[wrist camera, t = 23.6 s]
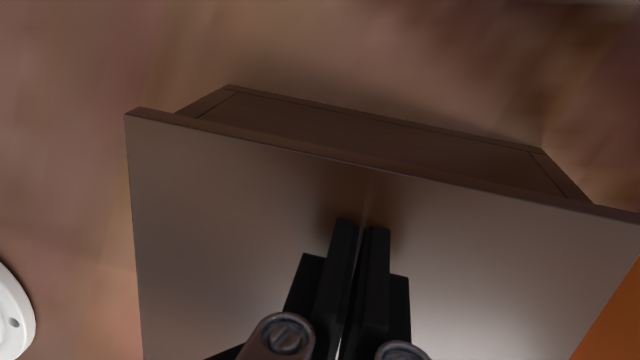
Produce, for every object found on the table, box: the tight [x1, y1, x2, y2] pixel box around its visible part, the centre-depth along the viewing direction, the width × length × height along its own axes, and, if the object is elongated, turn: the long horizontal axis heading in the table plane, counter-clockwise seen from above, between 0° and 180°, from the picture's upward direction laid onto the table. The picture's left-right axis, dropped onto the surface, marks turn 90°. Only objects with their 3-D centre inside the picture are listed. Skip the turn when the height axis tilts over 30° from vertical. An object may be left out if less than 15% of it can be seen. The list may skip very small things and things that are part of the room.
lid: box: [124, 107, 640, 360], centre depth 15 cm, size 15×15×1 cm
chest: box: [174, 85, 594, 204], centre depth 18 cm, size 14×15×7 cm
